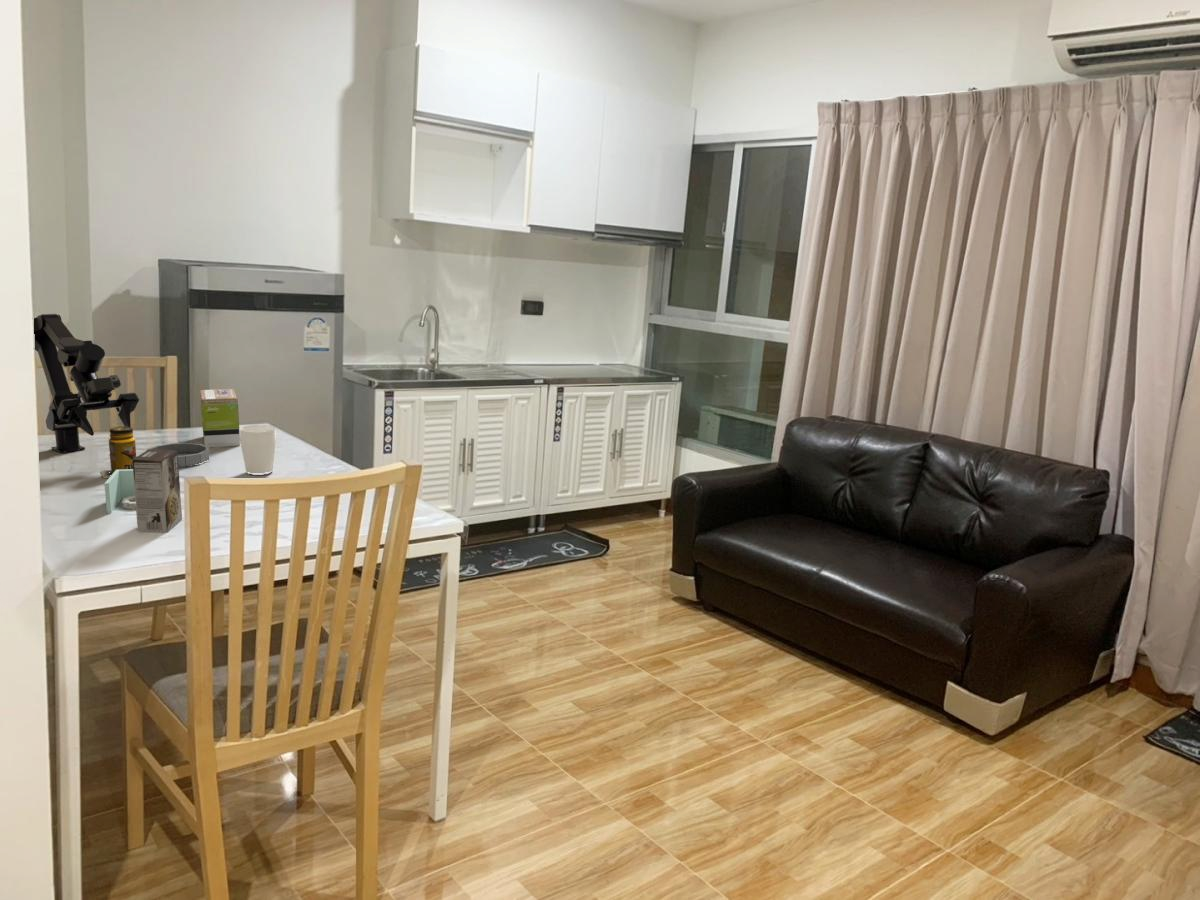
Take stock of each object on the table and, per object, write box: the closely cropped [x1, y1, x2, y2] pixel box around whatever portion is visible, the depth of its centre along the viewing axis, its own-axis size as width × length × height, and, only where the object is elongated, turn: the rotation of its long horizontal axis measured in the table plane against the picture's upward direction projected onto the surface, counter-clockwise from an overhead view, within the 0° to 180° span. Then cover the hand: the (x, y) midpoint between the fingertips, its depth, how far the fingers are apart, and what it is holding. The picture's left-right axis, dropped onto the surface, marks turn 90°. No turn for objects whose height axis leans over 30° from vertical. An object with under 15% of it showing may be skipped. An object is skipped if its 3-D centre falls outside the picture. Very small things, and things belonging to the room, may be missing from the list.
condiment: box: [100, 426, 137, 479], centre depth 235 cm, size 7×8×12 cm
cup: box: [239, 424, 277, 473], centre depth 242 cm, size 9×9×12 cm
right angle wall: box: [104, 469, 136, 514], centre depth 212 cm, size 12×12×8 cm
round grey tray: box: [146, 442, 210, 468], centre depth 251 cm, size 16×16×3 cm
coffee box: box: [132, 448, 183, 534], centre depth 197 cm, size 9×6×16 cm
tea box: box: [199, 388, 241, 448], centre depth 273 cm, size 15×10×15 cm, turn 25°
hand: (111, 432), depth 236 cm, fingers open, 9 cm apart
